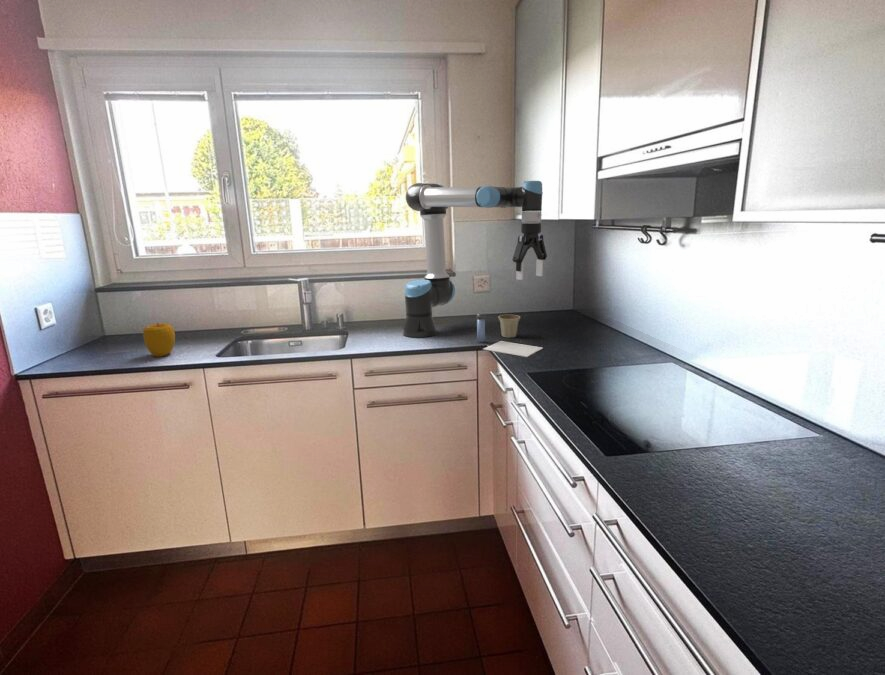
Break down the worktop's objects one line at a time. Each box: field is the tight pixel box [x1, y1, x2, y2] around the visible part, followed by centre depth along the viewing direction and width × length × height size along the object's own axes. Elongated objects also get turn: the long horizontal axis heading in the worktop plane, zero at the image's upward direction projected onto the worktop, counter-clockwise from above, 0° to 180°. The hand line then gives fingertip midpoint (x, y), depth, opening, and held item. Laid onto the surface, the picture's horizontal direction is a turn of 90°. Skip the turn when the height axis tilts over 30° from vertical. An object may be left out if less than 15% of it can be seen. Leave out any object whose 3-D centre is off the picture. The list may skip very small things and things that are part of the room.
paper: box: [482, 340, 544, 358], centre depth 187 cm, size 19×14×1 cm
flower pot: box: [498, 314, 521, 339], centre depth 206 cm, size 9×9×9 cm
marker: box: [476, 312, 486, 344], centre depth 197 cm, size 3×3×12 cm
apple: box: [142, 322, 176, 358], centre depth 187 cm, size 11×11×13 cm
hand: (529, 277), depth 190 cm, fingers open, 13 cm apart
